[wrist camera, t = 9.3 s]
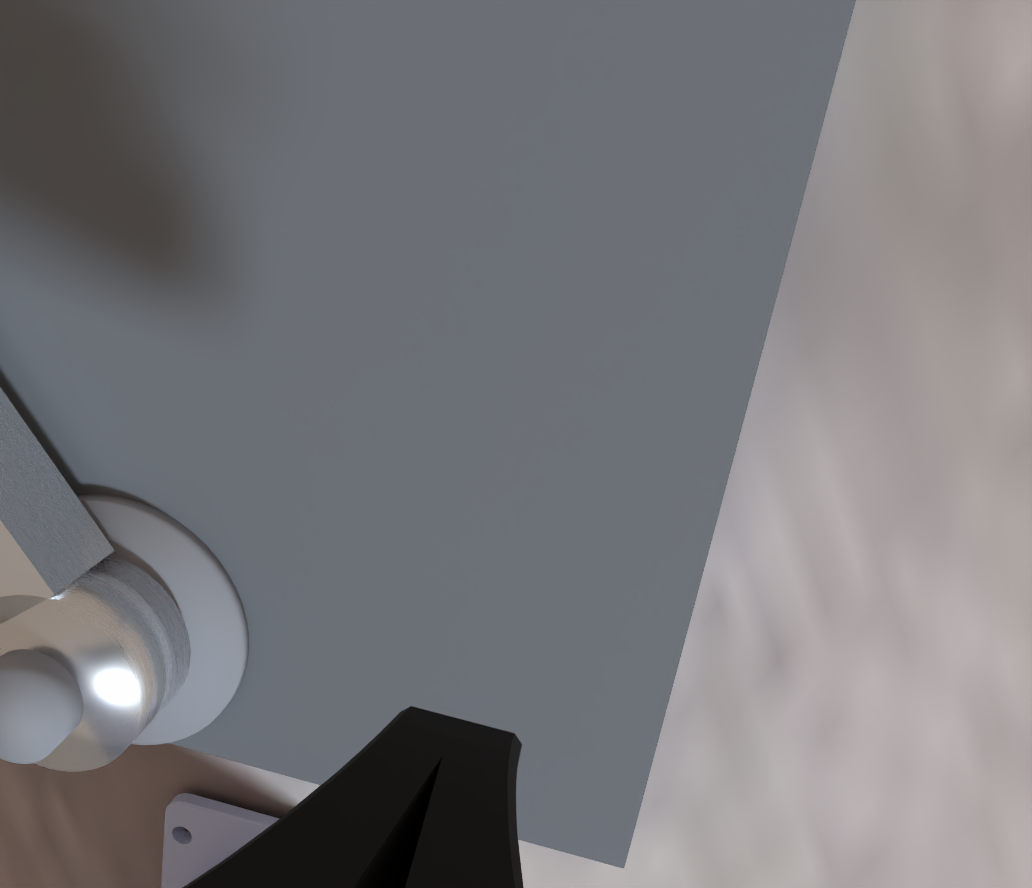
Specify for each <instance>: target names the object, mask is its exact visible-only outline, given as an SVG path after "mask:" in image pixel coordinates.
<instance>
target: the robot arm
mask: <svg viewBox="0 0 1032 888" xmlns="http://www.w3.org/2000/svg"><path fill="white" fill-rule="evenodd" d="M521 748H522V743H521V742H520V740H519V739H518V737H517V736H516V734H515V733H512V732H508V731H505V730H501V729H497V728H493V727H489V726H485V725H482V724H478V723H474V722H470V721H466V720H463V719H459V718H455V717H451V716H447V715H444V714H440V713H436V712H432V711H428V710H424V709H421V708H417V707H413V706H410V707H408V708H406V709H405V710H403V711H401V712H400V713H399V714H398V715H397V716H396V717H395V718H394V719H393V720H392V721H391V722H390V723H389V724H388V725H387V726H386V727H385V728H384V729H383V730H382V731H381V732H380V733H379V734H378V735H377V736H376V737H375V738H374V739H373V740H371V741H370V742H369V743H368V744H367V745H366V746H365V747H364V748H363V749H362V750H361V751H360V752H359V753H357V754H356V755H355V756H354V757H353V758H352V759H351V760H350V761H349V762H347V763H346V764H345V765H344V766H343V767H342V768H341V769H340V770H338V771H337V772H336V773H335V774H334V775H333V776H331V777H330V778H329V779H328V780H327V781H325V782H324V783H323V784H322V785H321V786H319V787H318V788H317V789H316V790H315V791H313V792H312V793H311V794H310V795H309V796H307V797H306V798H305V799H304V800H303V801H301V802H300V803H299V804H298V805H297V806H295V807H294V808H293V809H292V810H290V811H289V812H288V813H287V814H285V815H284V816H283V817H281V818H280V819H279V818H275V817H272V816H268V815H265V814H261V813H258V812H254V811H250V810H247V809H243V808H240V807H236V806H233V805H229V804H226V803H222V802H218V801H215V800H211V799H208V798H204V797H201V796H197V795H194V794H188V793H182V794H178V795H177V796H175V797H174V798H173V799H172V801H171V802H170V803H169V805H168V806H167V808H166V811H165V821H164V840H163V860H162V879H161V888H523V881H522V872H521V863H520V854H519V845H518V833H517V814H516V779H517V768H518V763H519V758H520V753H521ZM182 827H184V828H186V829H187V830H188V831H189V832H190V833H189V832H187V831H185V830H184V829H183V828H182Z"/></svg>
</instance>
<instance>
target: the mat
mask: <svg viewBox="0 0 1032 888" xmlns="http://www.w3.org/2000/svg"><path fill="white" fill-rule="evenodd" d="M855 1H856V0H0V387H1V389H2V390H3V392H4V393H5V394H6V396H7V397H8V399H9V400H10V402H11V403H12V404H13V406H14V407H15V409H16V410H17V412H18V413H19V414H20V416H21V417H22V419H23V420H24V422H25V423H26V424H27V426H28V427H29V429H30V430H31V432H32V433H33V434H34V436H35V437H36V439H37V440H38V442H39V443H40V445H41V446H42V447H43V449H44V450H45V452H46V453H47V455H48V456H49V457H50V459H51V460H52V462H53V463H54V465H55V466H56V467H57V469H58V470H59V472H60V473H61V475H62V476H63V477H64V479H65V480H66V482H67V483H68V485H69V486H70V487H71V489H72V490H73V492H74V493H75V495H76V496H77V498H78V499H79V500H80V502H81V503H82V505H83V506H84V508H85V509H86V510H87V512H88V513H89V515H90V516H91V518H92V519H93V520H94V522H95V523H96V525H97V526H98V528H99V529H100V530H101V532H102V533H103V535H104V536H105V538H106V539H107V540H108V542H109V543H110V545H111V546H112V548H113V549H114V550H115V551H113V552H112V553H111V554H110V555H114V556H116V557H119V558H121V559H124V560H126V561H128V562H130V563H132V564H134V565H135V566H137V567H139V568H140V569H142V570H143V571H144V572H146V573H147V574H148V575H150V576H151V577H152V578H153V579H154V580H156V581H157V582H158V583H159V584H160V585H161V586H162V588H163V589H164V590H165V591H166V592H167V593H168V595H169V596H170V597H171V598H172V600H173V601H174V603H175V604H176V606H177V608H178V609H179V611H180V613H181V615H182V617H183V620H184V622H185V625H186V628H187V631H188V635H189V640H190V647H191V659H190V667H189V671H188V675H187V677H186V680H185V682H184V684H183V686H182V687H181V689H180V690H179V692H178V693H177V694H176V695H175V696H174V697H173V698H172V700H171V701H170V702H169V703H168V704H167V705H166V706H165V707H164V708H163V709H162V711H161V712H160V713H159V714H158V715H157V716H156V717H155V718H154V719H153V720H152V722H151V723H150V724H149V725H148V726H147V727H146V728H145V729H144V730H143V731H142V732H141V734H140V735H139V736H138V737H137V738H136V739H135V740H134V741H133V742H132V743H131V744H135V745H158V744H164V743H170V744H173V745H177V746H180V747H184V748H188V749H191V750H195V751H199V752H202V753H206V754H210V755H213V756H217V757H220V758H224V759H228V760H231V761H235V762H239V763H242V764H246V765H249V766H253V767H257V768H260V769H264V770H268V771H271V772H275V773H279V774H282V775H286V776H289V777H293V778H297V779H300V780H304V781H308V782H311V783H315V784H319V785H322V784H323V783H324V782H325V781H327V780H328V779H329V778H330V777H331V776H333V775H334V774H335V773H336V772H337V771H338V770H340V769H341V768H342V767H343V766H344V765H345V764H346V763H347V762H349V761H350V760H351V759H352V758H353V757H354V756H355V755H356V754H357V753H359V752H360V751H361V750H362V749H363V748H364V747H365V746H366V745H367V744H368V743H369V742H370V741H371V740H373V739H374V738H375V737H376V736H377V735H378V734H379V733H380V732H381V731H382V730H383V729H384V728H385V727H386V726H387V725H388V724H389V723H390V722H391V721H392V720H393V719H394V718H395V717H396V716H397V715H398V714H399V713H400V712H401V711H403V710H405V709H406V708H408V707H410V706H413V707H417V708H421V709H424V710H428V711H432V712H436V713H440V714H444V715H447V716H451V717H455V718H459V719H463V720H466V721H470V722H474V723H478V724H482V725H485V726H489V727H493V728H497V729H501V730H505V731H508V732H512V733H515V734H516V736H517V737H518V739H519V740H520V742H521V743H522V748H521V753H520V758H519V763H518V768H517V779H516V814H517V833H518V840H522V841H526V842H529V843H533V844H537V845H540V846H544V847H548V848H551V849H555V850H558V851H562V852H566V853H569V854H573V855H577V856H580V857H584V858H588V859H591V860H595V861H598V862H602V863H606V864H609V865H613V866H617V867H620V868H624V866H625V863H626V859H627V855H628V852H629V848H630V844H631V840H632V837H633V833H634V829H635V825H636V822H637V818H638V814H639V810H640V807H641V803H642V799H643V795H644V792H645V788H646V784H647V780H648V777H649V773H650V769H651V765H652V762H653V758H654V754H655V750H656V747H657V743H658V739H659V735H660V732H661V728H662V724H663V720H664V717H665V713H666V709H667V705H668V702H669V698H670V694H671V690H672V687H673V683H674V679H675V675H676V672H677V668H678V664H679V660H680V657H681V653H682V649H683V646H684V642H685V638H686V634H687V631H688V627H689V623H690V619H691V616H692V612H693V608H694V604H695V601H696V597H697V593H698V589H699V586H700V582H701V578H702V574H703V571H704V567H705V563H706V559H707V556H708V552H709V548H710V544H711V541H712V537H713V533H714V529H715V526H716V522H717V518H718V514H719V511H720V507H721V503H722V499H723V496H724V492H725V488H726V484H727V481H728V477H729V473H730V469H731V466H732V462H733V458H734V454H735V451H736V447H737V443H738V440H739V436H740V432H741V428H742V425H743V421H744V417H745V413H746V410H747V406H748V402H749V398H750V395H751V391H752V387H753V383H754V380H755V376H756V372H757V368H758V365H759V361H760V357H761V353H762V350H763V346H764V342H765V338H766V335H767V331H768V327H769V323H770V320H771V316H772V312H773V308H774V305H775V301H776V297H777V293H778V290H779V286H780V282H781V278H782V275H783V271H784V267H785V263H786V260H787V256H788V252H789V248H790V245H791V241H792V237H793V233H794V230H795V226H796V222H797V219H798V215H799V211H800V207H801V204H802V200H803V196H804V192H805V189H806V185H807V181H808V177H809V174H810V170H811V166H812V162H813V159H814V155H815V151H816V147H817V144H818V140H819V136H820V132H821V129H822V125H823V121H824V117H825V114H826V110H827V106H828V102H829V99H830V95H831V91H832V87H833V84H834V80H835V76H836V72H837V69H838V65H839V61H840V57H841V54H842V50H843V46H844V42H845V39H846V35H847V31H848V27H849V24H850V20H851V16H852V13H853V9H854V5H855ZM83 708H84V707H83V698H82V694H81V691H80V689H79V686H78V684H77V683H76V681H75V679H74V678H73V676H72V675H71V674H70V673H69V671H68V670H67V669H66V668H65V667H64V666H62V665H61V664H60V663H59V662H58V661H56V660H55V659H53V658H51V657H50V656H48V655H46V654H43V653H41V652H38V651H34V650H28V649H17V650H12V651H9V652H7V653H5V654H3V655H2V656H0V759H3V760H5V761H8V762H12V763H18V764H30V763H35V762H38V761H40V760H42V759H44V758H45V757H47V756H48V755H49V754H50V753H51V752H52V751H53V750H54V749H55V748H56V747H57V746H58V745H59V744H60V743H61V742H62V741H63V740H64V739H65V738H66V737H67V736H69V735H70V734H71V733H72V732H73V731H74V730H75V729H76V727H77V726H78V725H79V723H80V721H81V719H82V715H83Z"/></svg>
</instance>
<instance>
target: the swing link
mask: <svg viewBox="0 0 1032 888" xmlns="http://www.w3.org/2000/svg"><path fill="white" fill-rule="evenodd" d="M113 551H115V550H114V549H113V548H112V546H111V545H110V543H109V542H108V540H107V539H106V538H105V536H104V535H103V533H102V532H101V530H100V529H99V528H98V526H97V525H96V523H95V522H94V520H93V519H92V518H91V516H90V515H89V513H88V512H87V510H86V509H85V508H84V506H83V505H82V503H81V502H80V500H79V499H78V498H77V496H76V495H75V493H74V492H73V490H72V489H71V487H70V486H69V485H68V483H67V482H66V480H65V479H64V477H63V476H62V475H61V473H60V472H59V470H58V469H57V467H56V466H55V465H54V463H53V462H52V460H51V459H50V457H49V456H48V455H47V453H46V452H45V450H44V449H43V447H42V446H41V445H40V443H39V442H38V440H37V439H36V437H35V436H34V434H33V433H32V432H31V430H30V429H29V427H28V426H27V424H26V423H25V422H24V420H23V419H22V417H21V416H20V414H19V413H18V412H17V410H16V409H15V407H14V406H13V404H12V403H11V402H10V400H9V399H8V397H7V396H6V394H5V393H4V392H3V390H2V389H1V387H0V656H2V655H3V654H5V653H7V652H9V651H12V650H17V649H28V650H34V651H38V652H41V653H43V654H46V655H48V656H50V657H51V658H53V659H55V660H56V661H58V662H59V663H60V664H61V665H62V666H64V667H65V668H66V669H67V670H68V671H69V673H70V674H71V675H72V676H73V678H74V679H75V681H76V683H77V684H78V686H79V689H80V691H81V694H82V698H83V707H84V708H83V715H82V719H81V721H80V723H79V725H78V726H77V727H76V729H75V730H74V731H73V732H72V733H71V734H70V735H69V736H67V737H66V738H65V739H64V740H63V741H62V742H61V743H60V744H59V745H58V746H57V747H56V748H55V749H54V750H53V751H52V752H51V753H50V754H49V755H48V756H47V757H45V758H44V759H42V760H40V761H38V762H35V763H34V764H36V765H39V766H42V767H45V768H49V769H53V770H58V771H67V772H80V771H88V770H93V769H97V768H100V767H102V766H105V765H107V764H109V763H110V762H112V761H114V760H115V759H116V758H118V757H119V756H120V755H121V754H122V753H123V752H124V751H125V750H126V749H127V748H128V747H129V746H130V745H131V743H132V742H133V741H134V740H135V739H136V738H137V737H138V736H139V735H140V734H141V732H142V731H143V730H144V729H145V728H146V727H147V726H148V725H149V724H150V723H151V722H152V720H153V719H154V718H155V717H156V716H157V715H158V714H159V713H160V712H161V711H162V709H163V708H164V707H165V706H166V705H167V704H168V703H169V702H170V701H171V700H172V698H173V697H174V696H175V695H176V694H177V693H178V692H179V690H180V689H181V687H182V686H183V684H184V682H185V680H186V677H187V675H188V671H189V667H190V659H191V647H190V640H189V635H188V631H187V628H186V625H185V622H184V620H183V617H182V615H181V613H180V611H179V609H178V608H177V606H176V604H175V603H174V601H173V600H172V598H171V597H170V596H169V595H168V593H167V592H166V591H165V590H164V589H163V588H162V586H161V585H160V584H159V583H158V582H157V581H156V580H154V579H153V578H152V577H151V576H150V575H148V574H147V573H146V572H144V571H143V570H142V569H140V568H139V567H137V566H135V565H134V564H132V563H130V562H128V561H126V560H124V559H121V558H119V557H116V556H114V555H110V554H111V553H112V552H113Z"/></svg>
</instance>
